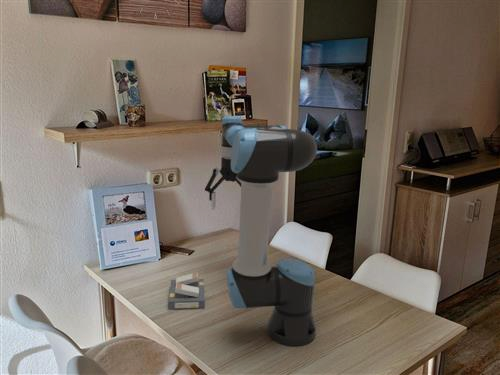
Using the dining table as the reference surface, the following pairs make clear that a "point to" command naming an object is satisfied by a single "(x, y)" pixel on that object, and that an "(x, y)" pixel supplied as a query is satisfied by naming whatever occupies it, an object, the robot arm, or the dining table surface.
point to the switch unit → (187, 297)
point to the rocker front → (186, 290)
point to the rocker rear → (188, 278)
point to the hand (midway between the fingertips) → (230, 210)
